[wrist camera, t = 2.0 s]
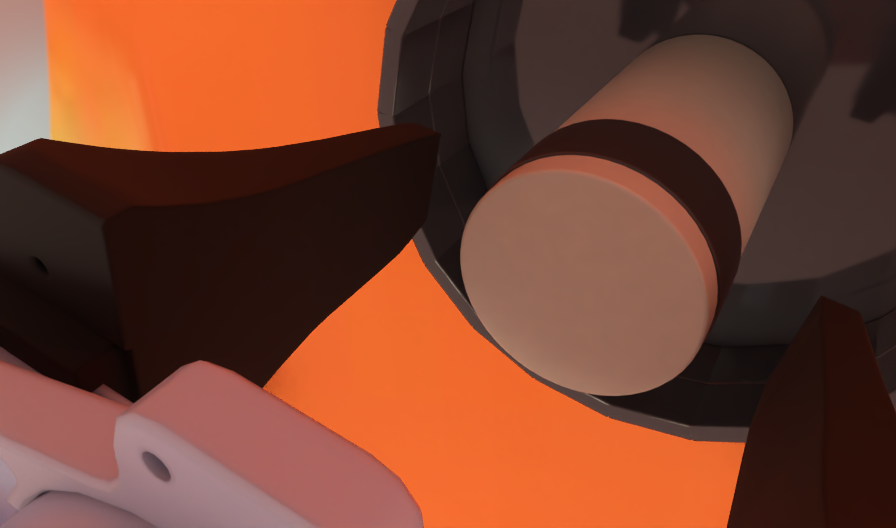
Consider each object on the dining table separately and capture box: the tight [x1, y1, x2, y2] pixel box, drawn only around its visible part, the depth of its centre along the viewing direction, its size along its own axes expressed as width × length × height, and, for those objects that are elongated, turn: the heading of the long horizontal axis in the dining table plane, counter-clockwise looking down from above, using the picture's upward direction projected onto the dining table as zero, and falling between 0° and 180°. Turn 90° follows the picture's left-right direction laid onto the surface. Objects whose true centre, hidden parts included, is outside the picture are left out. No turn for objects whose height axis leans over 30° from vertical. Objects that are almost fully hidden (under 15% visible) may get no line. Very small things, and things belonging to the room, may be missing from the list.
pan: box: [377, 0, 896, 443], centre depth 17 cm, size 14×14×4 cm
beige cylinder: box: [460, 35, 793, 396], centre depth 15 cm, size 4×4×8 cm
